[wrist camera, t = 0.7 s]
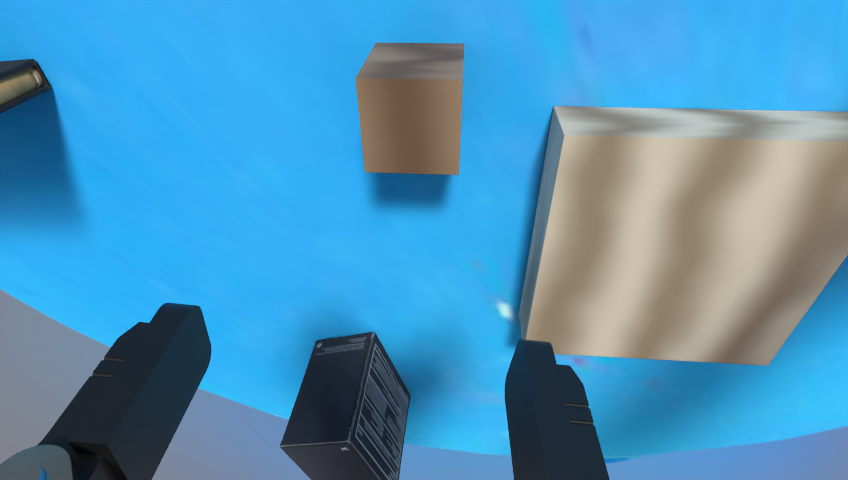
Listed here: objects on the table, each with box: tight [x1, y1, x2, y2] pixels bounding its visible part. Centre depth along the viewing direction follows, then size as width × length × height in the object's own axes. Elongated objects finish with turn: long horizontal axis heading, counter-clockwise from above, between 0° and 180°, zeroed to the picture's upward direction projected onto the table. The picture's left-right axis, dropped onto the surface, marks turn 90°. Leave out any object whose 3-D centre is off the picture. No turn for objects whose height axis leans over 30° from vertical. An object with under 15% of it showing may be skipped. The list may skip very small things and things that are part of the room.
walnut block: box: [356, 43, 464, 175], centre depth 25 cm, size 5×5×6 cm
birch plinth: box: [519, 106, 848, 366], centre depth 31 cm, size 18×18×4 cm
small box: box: [280, 332, 410, 480], centre depth 41 cm, size 11×6×10 cm, turn 18°
